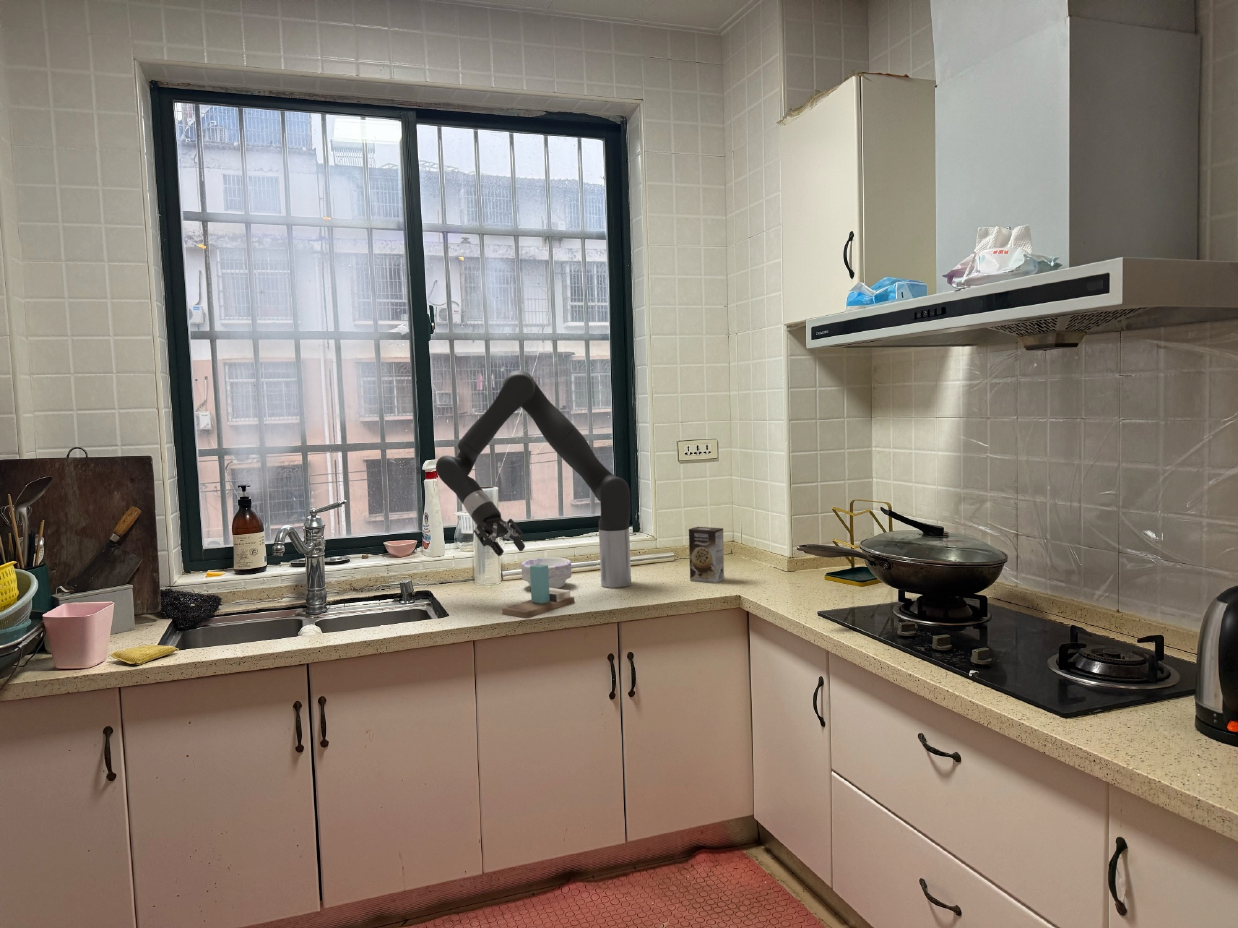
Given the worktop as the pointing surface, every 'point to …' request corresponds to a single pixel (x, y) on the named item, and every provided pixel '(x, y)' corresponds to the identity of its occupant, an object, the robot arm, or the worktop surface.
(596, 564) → the worktop surface
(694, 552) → the coffee box
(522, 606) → the stand
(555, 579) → the white and purple bowl
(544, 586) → the teal rectangular block
